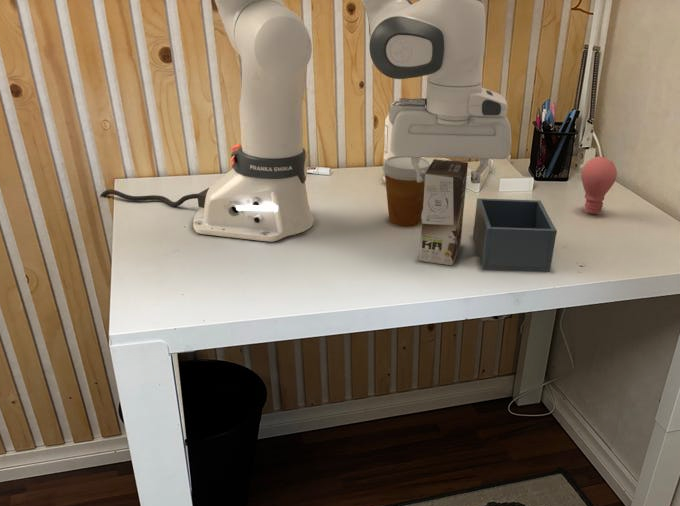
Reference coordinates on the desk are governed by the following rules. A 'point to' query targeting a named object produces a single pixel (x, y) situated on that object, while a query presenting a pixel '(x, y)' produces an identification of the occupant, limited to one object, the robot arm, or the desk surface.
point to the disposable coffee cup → (404, 191)
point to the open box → (513, 235)
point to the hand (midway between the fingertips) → (448, 181)
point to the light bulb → (597, 182)
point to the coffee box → (443, 211)
